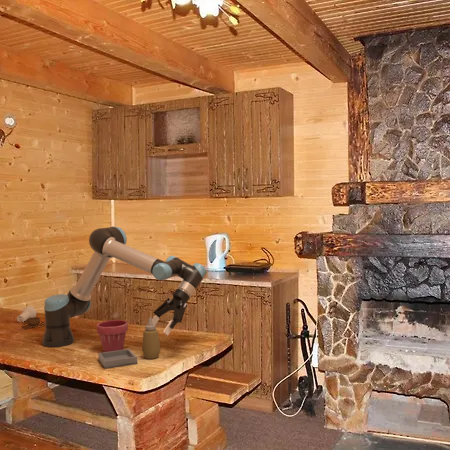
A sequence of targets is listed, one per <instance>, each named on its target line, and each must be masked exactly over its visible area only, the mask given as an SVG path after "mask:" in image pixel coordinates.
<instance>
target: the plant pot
mask: <svg viewBox="0 0 450 450" xmlns="http://www.w3.org/2000/svg"><path fill="white" fill-rule="evenodd" d="M128 327H129V326H128V322H127V321H126V320H122V319H113V320H105V321H101V322H98V323H97V324H96V333H97V334H98V335H99V339H100V343H101V346H102V349H103V352H110V351H117V350H124V347H125V346H124V345H125V339H126V333H127V332H128V330H129V328H128Z"/></svg>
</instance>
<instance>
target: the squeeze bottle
mask: <svg viewBox="0 0 450 450" xmlns="http://www.w3.org/2000/svg"><path fill="white" fill-rule="evenodd" d="M152 318H153V317H148V321H147V324H145V326H144V329H145V330H143V332H142V336H143V337H142V346H141V347H142V349H141V350H142V353H143V356H144V358H145V359H147V360H153V359H154V360H155V359H157V358H158V357H159V356H160V355H159V354H160V352H161V343H160V336H159V331H158V329H157V326H156V325H157V324H156V325H153V321H152Z"/></svg>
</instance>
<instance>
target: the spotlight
mask: <svg viewBox="0 0 450 450" xmlns="http://www.w3.org/2000/svg"><path fill="white" fill-rule="evenodd" d="M37 314H38V313H37V310H36V308H35V307H34V306H32V305H27V306H26V307H23V309H22V311H21V314H19V315H18V316H17V317H16V321H17V322H18V321H19V322H21V321H22V322H23V323H25V322H27V319H28V318H33V317H37ZM24 321H25V322H24ZM19 322H18V323H19Z"/></svg>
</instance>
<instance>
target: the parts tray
mask: <svg viewBox="0 0 450 450" xmlns="http://www.w3.org/2000/svg"><path fill="white" fill-rule="evenodd" d="M97 355H98V362H99V363H100V364H101V366H102V368H103V369H105V370H107V369H112V368H119V367H125V366H132V365H138V356H137V355H136V354H135V353H134V352H133V351H132V350H131V349H130V348H125V349H124V348H123V350H117V351H110V352H104V351H103V352H98V354H97Z"/></svg>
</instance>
